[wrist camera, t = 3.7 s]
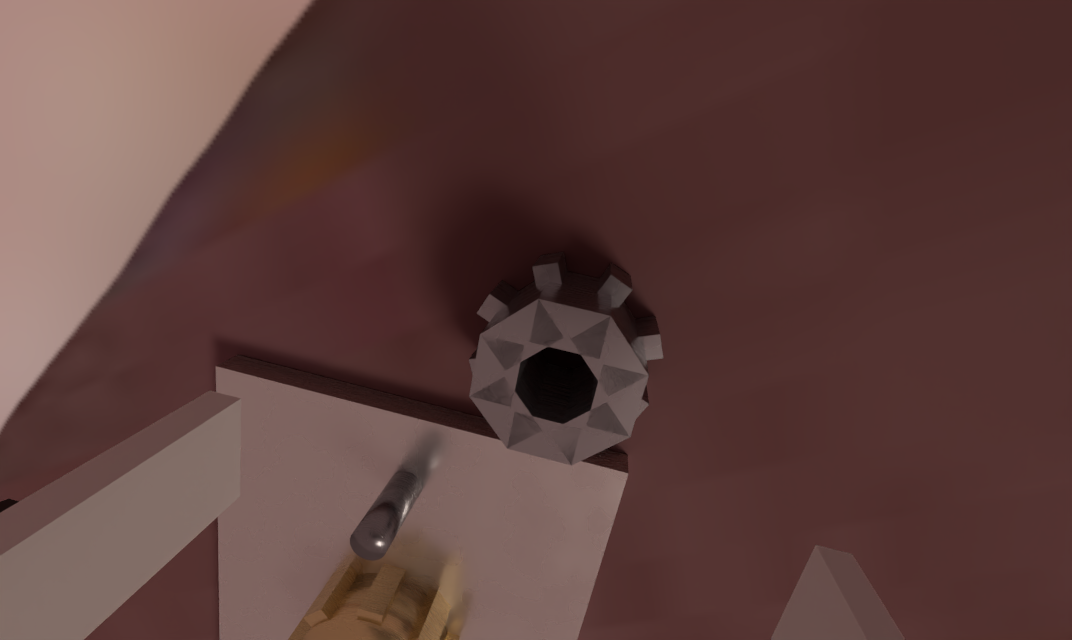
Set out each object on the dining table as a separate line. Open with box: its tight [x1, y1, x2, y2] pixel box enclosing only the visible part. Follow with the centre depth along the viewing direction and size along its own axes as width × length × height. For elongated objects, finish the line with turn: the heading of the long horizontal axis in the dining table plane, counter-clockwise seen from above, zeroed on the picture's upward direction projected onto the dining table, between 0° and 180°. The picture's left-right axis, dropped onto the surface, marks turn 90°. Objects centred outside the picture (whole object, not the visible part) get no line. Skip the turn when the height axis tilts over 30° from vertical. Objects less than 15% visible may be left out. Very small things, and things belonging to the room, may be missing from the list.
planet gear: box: [469, 252, 663, 465], centre depth 20 cm, size 8×8×5 cm
